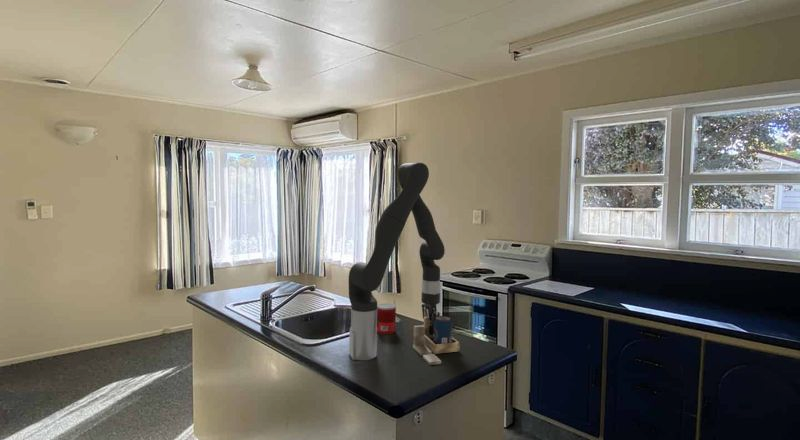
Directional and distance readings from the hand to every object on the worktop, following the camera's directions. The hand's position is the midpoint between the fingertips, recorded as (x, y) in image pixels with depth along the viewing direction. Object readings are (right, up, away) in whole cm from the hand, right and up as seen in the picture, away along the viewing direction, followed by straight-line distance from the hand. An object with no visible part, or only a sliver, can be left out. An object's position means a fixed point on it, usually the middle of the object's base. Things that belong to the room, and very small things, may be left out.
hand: (429, 332), depth 169 cm
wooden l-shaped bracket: (-3, -3, -18) cm, 18 cm away
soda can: (+4, -3, -12) cm, 13 cm away
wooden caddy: (+2, -3, -7) cm, 8 cm away
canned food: (-18, -2, +7) cm, 19 cm away
